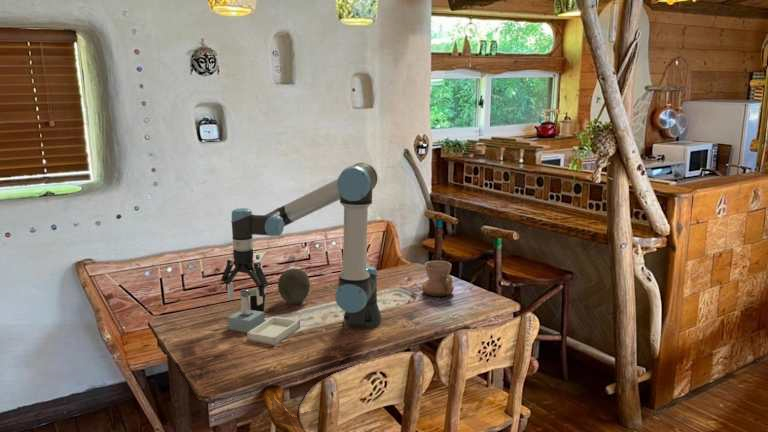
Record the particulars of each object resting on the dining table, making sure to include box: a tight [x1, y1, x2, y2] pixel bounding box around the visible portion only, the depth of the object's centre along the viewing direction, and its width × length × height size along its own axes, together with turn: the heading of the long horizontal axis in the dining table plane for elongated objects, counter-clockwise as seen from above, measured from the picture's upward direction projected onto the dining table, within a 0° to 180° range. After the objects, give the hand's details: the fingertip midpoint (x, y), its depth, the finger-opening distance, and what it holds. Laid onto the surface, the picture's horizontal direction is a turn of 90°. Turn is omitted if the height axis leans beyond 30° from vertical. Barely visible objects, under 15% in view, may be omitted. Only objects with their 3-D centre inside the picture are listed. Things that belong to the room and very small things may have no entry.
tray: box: [246, 316, 301, 346], centre depth 226 cm, size 12×18×3 cm, turn 157°
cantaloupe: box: [277, 268, 311, 305], centre depth 259 cm, size 14×14×15 cm
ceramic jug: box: [421, 260, 455, 297], centre depth 269 cm, size 18×14×14 cm
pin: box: [240, 288, 251, 317], centre depth 232 cm, size 4×4×15 cm
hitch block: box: [227, 309, 266, 333], centre depth 233 cm, size 10×10×5 cm
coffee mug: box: [250, 288, 267, 313], centre depth 245 cm, size 12×9×10 cm
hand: (245, 301), depth 231 cm, fingers open, 13 cm apart
